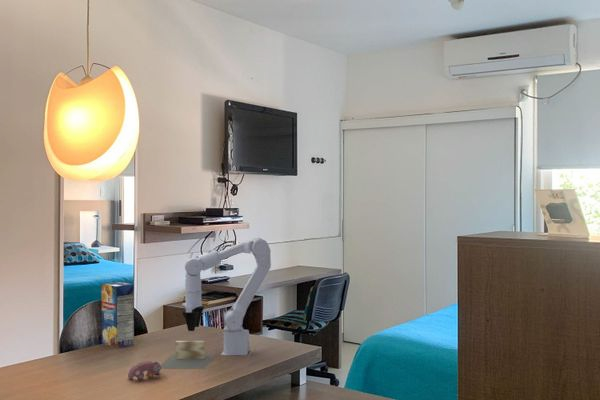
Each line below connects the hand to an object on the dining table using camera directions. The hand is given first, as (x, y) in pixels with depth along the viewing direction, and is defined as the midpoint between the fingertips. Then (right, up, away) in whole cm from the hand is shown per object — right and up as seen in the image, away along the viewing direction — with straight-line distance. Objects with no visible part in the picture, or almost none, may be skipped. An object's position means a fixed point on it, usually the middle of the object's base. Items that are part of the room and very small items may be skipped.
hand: (193, 328), depth 210 cm
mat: (0, -10, -10) cm, 14 cm away
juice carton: (-34, -11, +19) cm, 40 cm away
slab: (0, -9, -6) cm, 11 cm away
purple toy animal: (-11, -10, -27) cm, 31 cm away
